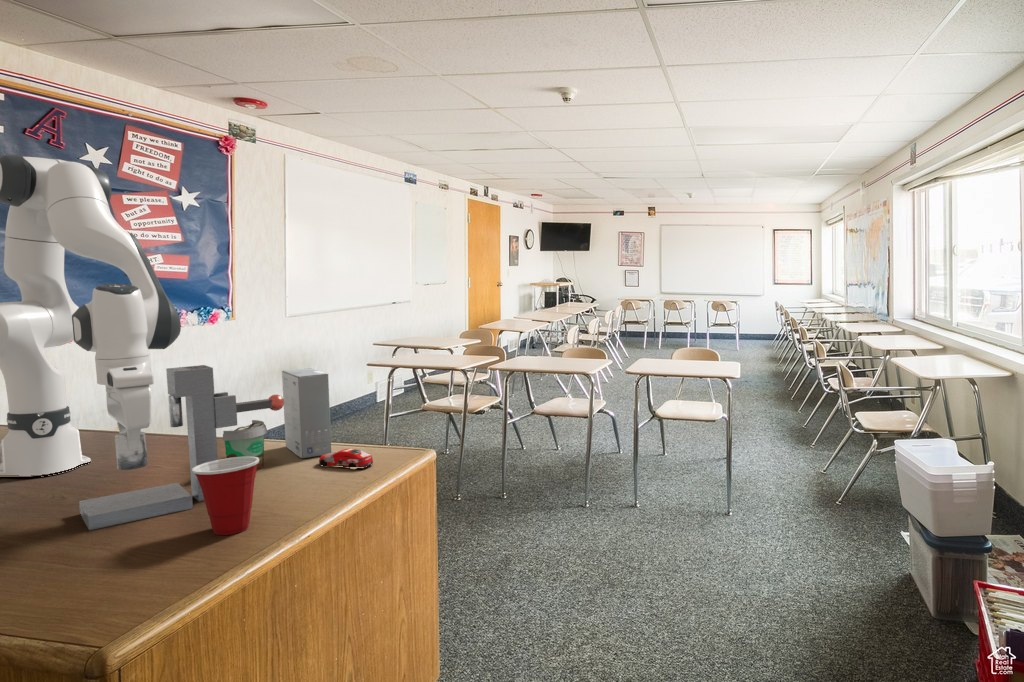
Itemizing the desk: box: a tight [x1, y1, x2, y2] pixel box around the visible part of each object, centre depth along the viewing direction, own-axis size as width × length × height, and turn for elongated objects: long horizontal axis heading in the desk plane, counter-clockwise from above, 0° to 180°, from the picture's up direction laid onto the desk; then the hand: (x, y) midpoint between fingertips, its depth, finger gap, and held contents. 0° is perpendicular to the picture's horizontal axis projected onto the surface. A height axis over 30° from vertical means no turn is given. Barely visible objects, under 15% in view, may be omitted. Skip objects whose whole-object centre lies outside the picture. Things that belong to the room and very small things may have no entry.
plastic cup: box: [192, 456, 259, 536], centre depth 121 cm, size 11×11×12 cm
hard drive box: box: [281, 367, 333, 459], centre depth 174 cm, size 16×8×20 cm, turn 32°
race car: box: [318, 448, 374, 468], centre depth 160 cm, size 13×5×4 cm, turn 68°
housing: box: [114, 431, 149, 471], centre depth 130 cm, size 5×5×8 cm
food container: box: [222, 419, 268, 472], centre depth 159 cm, size 12×6×10 cm, turn 168°
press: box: [78, 364, 238, 531], centre depth 133 cm, size 11×27×26 cm, turn 129°
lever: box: [236, 394, 284, 414], centre depth 144 cm, size 3×14×3 cm, turn 129°
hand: (130, 445), depth 130 cm, fingers closed on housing, 5 cm apart
